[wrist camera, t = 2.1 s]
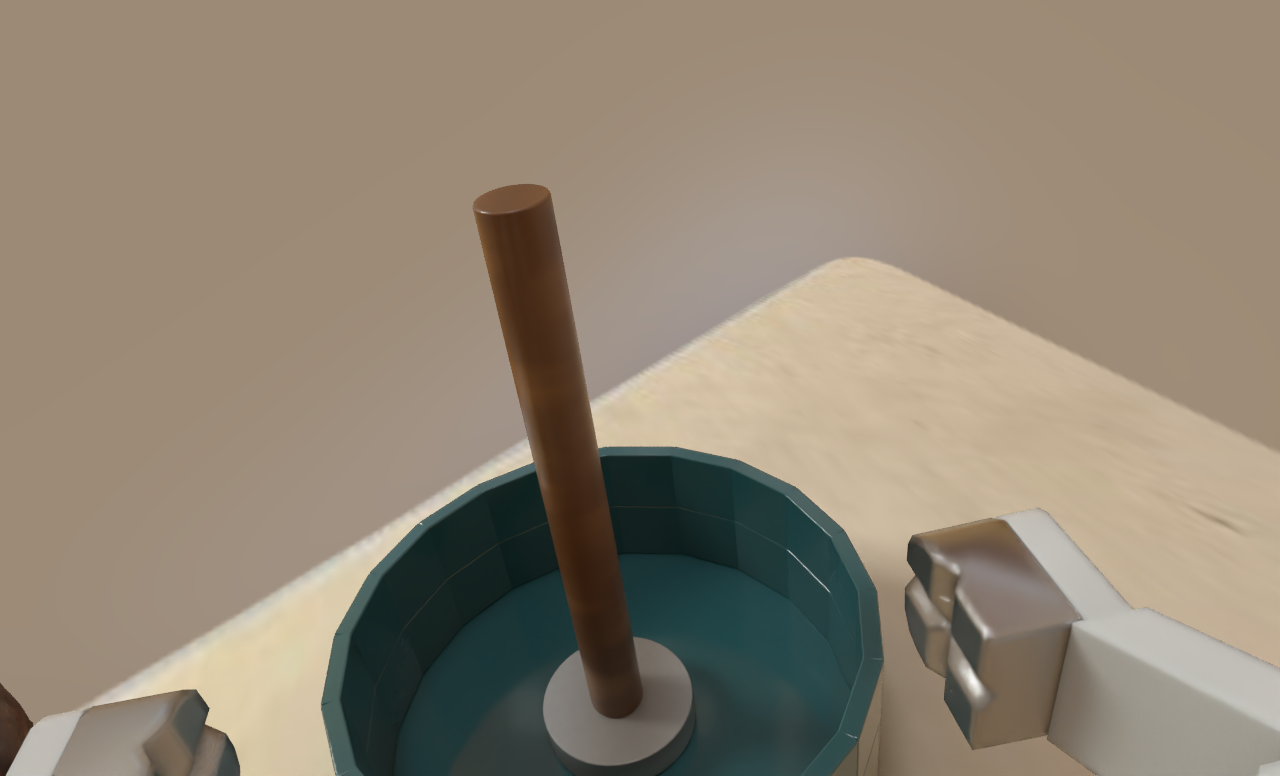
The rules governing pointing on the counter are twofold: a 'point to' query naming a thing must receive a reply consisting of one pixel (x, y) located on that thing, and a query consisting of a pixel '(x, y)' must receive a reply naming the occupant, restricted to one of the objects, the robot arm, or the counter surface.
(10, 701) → the sauce bottle
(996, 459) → the counter surface
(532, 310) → the wooden dowel stand
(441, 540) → the bowl
